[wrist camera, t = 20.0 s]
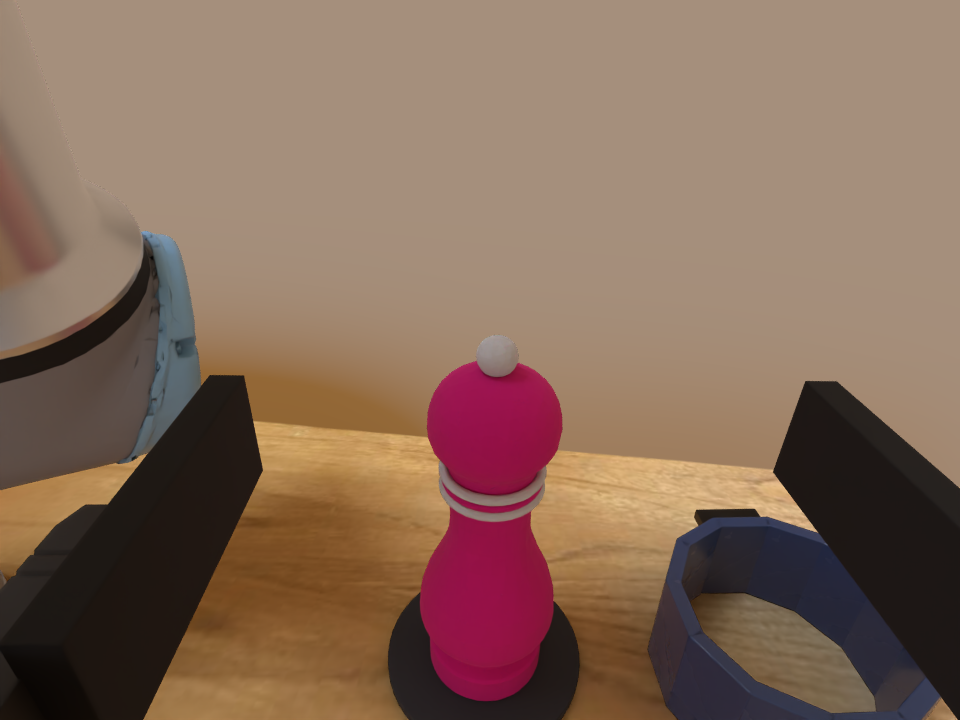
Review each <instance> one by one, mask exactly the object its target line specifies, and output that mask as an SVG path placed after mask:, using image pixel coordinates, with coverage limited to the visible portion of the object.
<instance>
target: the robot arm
mask: <svg viewBox="0 0 960 720" xmlns="http://www.w3.org/2000/svg"><path fill="white" fill-rule="evenodd" d="M194 325H195V324H194V315H193V309H192V303H191V297H190V292H189V286H188V281H187V276H186V272H185V268H184V264H183V260H182V257H181V253H180V250H179V248H178V246H177V244H176V242H175V241H174V240H173V239H172V238H170V237H169V236H166V235H162V234H153V233H151V232H148V231H144V232H141V231H140V229H139V226H138V224H137V222H136V221H135V219H134V217H133V215H132V214H131V212H130V211H129V209H128V208H127V206H126V205H124V204H123V203H122V202H121V201H120V200H119V199H118V198H117V197H116V196H114V195H113V194H111V193H110V192H108V191H107V190H105V189H104V188H101V187H100V186H98V185H96V184H94V183H92V182H90V181H87V180H85V179H82V178H81V176H80V173H79V170H78V168H77V165H76V162H75V160H74V157H73V154H72V151H71V149H70V146H69V143H68V140H67V138H66V135H65V133H64V130H63V127H62V124H61V121H60V119H59V116H58V113H57V110H56V108H55V105H54V102H53V100H52V97H51V94H50V91H49V88H48V86H47V83H46V80H45V78H44V75H43V72H42V69H41V67H40V64H39V61H38V59H37V56H36V53H35V50H34V47H33V45H32V42H31V39H30V37H29V34H28V31H27V29H26V26H25V23H24V20H23V17H22V15H21V12H20V9H19V6H18V4H17V1H16V0H0V490H3V489H7V488H11V487H15V486H19V485H23V484H27V483H32V482H36V481H40V480H44V479H49V478H53V477H57V476H62V475H66V474H70V473H74V472H79V471H83V470H87V469H92V468H96V467H100V466H105V465H109V464H113V463H117V464H122V463H128V462H131V461H133V460H135V459H137V458H138V456H140V455H143V454H147V453H148V454H147V455H146V457H145V458H144V459H143V461H142V462H141V463H140V464H139V466H138V467H137V468H136V469H135V471H134V472H133V473H132V475H131V476H130V477H129V478H128V480H127V481H126V482H125V483H124V485H123V486H122V487H121V488H120V490H119V491H118V492H117V494H116V495H115V496H114V497H113V499H112V500H111V501H110V502H109V504H108V505H84V506H83V507H81V508H80V509H79V510H77V511H76V512H74V513H73V514H71V515H70V516H69V517H67V518H66V519H64V520H63V521H62V522H60V523H59V524H57V525H56V526H55V527H54V528H53V529H52V530H51V532H50V533H49V534H48V535H47V536H46V537H45V539H44V540H43V541H42V542H41V543H40V544H39V545H38V547H37V548H36V549H35V550H34V555H30V556H29V557H28V558H27V559H26V561H25V562H24V563H23V564H22V565H21V566H20V567H19V569H18V570H17V571H16V572H17V573H16V576H14V577H11V578H10V579H9V580H8V581H6V579H5V577H4V575H3V573H2V572H1V570H0V720H143V719H144V717H145V715H146V713H147V711H148V709H149V707H150V705H151V703H152V700H153V698H154V696H155V694H156V692H157V690H158V688H159V686H160V684H161V682H162V680H163V677H164V675H165V673H166V671H167V669H168V667H169V665H170V663H171V661H172V659H173V657H174V655H175V652H176V650H177V648H178V646H179V644H180V642H181V640H182V638H183V636H184V634H185V632H186V630H187V627H188V625H189V623H190V621H191V619H192V617H193V615H194V613H195V611H196V609H197V607H198V605H199V602H200V600H201V598H202V596H203V594H204V592H205V590H206V588H207V586H208V584H209V582H210V580H211V577H212V575H213V573H214V571H215V569H216V567H217V565H218V563H219V561H220V559H221V557H222V554H223V552H224V550H225V548H226V546H227V544H228V542H229V540H230V538H231V536H232V534H233V532H234V529H235V527H236V525H237V523H238V521H239V519H240V517H241V515H242V513H243V511H244V509H245V507H246V504H247V502H248V500H249V498H250V496H251V494H252V492H253V490H254V488H255V486H256V484H257V482H258V479H259V477H260V475H261V473H262V471H263V468H262V463H261V458H260V453H259V448H258V443H257V438H256V433H255V428H254V423H253V419H252V413H251V408H250V404H249V399H248V393H247V388H246V384H245V379H244V376H236V375H235V376H234V375H232V376H231V375H210V376H209V377H208V378H207V379H206V381H205V382H204V383H203V385H202V386H201V376H200V365H199V357H198V352H197V348H196V346H195V341H196V336H195V326H194ZM773 473H774V474H775V475H776V477H777V478H778V479H779V481H780V482H781V483H782V485H783V486H784V487H785V489H786V490H787V491H788V493H789V494H790V495H791V497H792V498H793V500H794V501H795V502H796V504H797V505H798V506H799V508H800V509H801V510H802V512H803V513H804V514H805V516H806V517H807V518H808V520H809V521H810V522H811V524H812V525H813V526H814V528H815V529H816V530H817V532H818V533H819V534H820V536H821V537H822V538H823V540H824V541H825V542H826V544H827V545H828V546H829V548H830V549H831V550H832V552H833V553H834V554H835V556H836V557H837V558H838V560H839V561H840V562H841V564H842V565H843V566H844V568H845V569H846V570H847V572H848V573H849V574H850V576H851V577H852V578H853V580H854V581H855V582H856V584H857V585H858V586H859V588H860V589H861V590H862V592H863V593H864V595H865V596H866V597H867V599H868V600H869V601H870V603H871V604H872V605H873V607H874V608H875V609H876V611H877V612H878V613H879V615H880V616H881V617H882V619H883V620H884V621H885V623H886V624H887V625H888V627H889V628H890V629H891V631H892V632H893V633H894V635H895V636H896V637H897V639H898V640H899V641H900V643H901V644H902V645H903V647H904V648H905V649H906V651H907V652H908V653H909V655H910V656H911V657H912V659H913V660H914V661H915V663H916V664H917V665H918V667H919V668H920V669H921V671H922V672H923V673H924V675H925V676H926V677H927V679H928V680H929V681H930V683H931V684H932V685H933V687H934V688H935V690H936V691H937V692H938V694H939V695H940V696H941V698H942V699H943V700H944V702H945V703H946V704H947V706H948V707H949V708H950V710H951V711H952V712H953V714H954V715H955V716H956V718H957V719H958V720H960V488H959V487H958V486H956V485H955V484H954V483H953V482H952V481H951V480H950V479H948V478H947V477H946V476H945V475H944V474H943V473H942V472H940V471H939V470H938V469H937V468H936V467H934V466H933V465H932V464H931V463H930V462H929V461H928V460H927V459H925V458H924V457H923V456H922V455H921V454H919V453H918V452H917V451H916V450H915V449H914V448H913V447H912V446H910V445H909V444H908V443H907V442H905V440H904V439H902V438H901V437H900V436H899V435H898V434H897V433H895V432H894V431H893V430H892V429H891V428H890V427H888V426H887V425H886V424H885V423H884V422H883V421H882V420H881V419H879V418H878V417H877V416H876V415H875V414H873V413H872V412H871V411H870V410H869V409H868V408H867V407H866V406H864V405H863V404H862V403H861V402H860V401H859V400H857V399H856V398H855V397H854V396H853V395H852V394H851V393H849V392H848V391H847V390H846V389H845V388H844V387H843V386H841V385H840V384H839V383H838V382H836V381H835V382H834V381H805V384H804V387H803V389H802V392H801V395H800V398H799V400H798V403H797V406H796V409H795V412H794V414H793V417H792V420H791V423H790V426H789V428H788V432H787V434H786V437H785V440H784V443H783V445H782V448H781V451H780V454H779V457H778V459H777V462H776V465H775V468H774V471H773Z"/></svg>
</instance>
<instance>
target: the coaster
mask: <svg viewBox="0 0 960 720" xmlns="http://www.w3.org/2000/svg"><path fill="white" fill-rule="evenodd" d="M420 595H421V592H420V593H419V594H418V595H417V596H416V597H415V598H414V599H413V600H412V601H411V602H410V603H409V604H408V605H407V606H406V608H405V609H404V610H403V612H402V614H401V615H400V617H399V618H398V620H397V623H396V625H395V627H394V629H393V632H392V636H391V639H390V645H389V651H388V666H389V675H390V682H391V685H392V689H393V692H394V695H395V697H396V699H397V702H398V704H399V706H400V707H401V709H402V711H403V712H404V714H405V715H406V717H407V718H408V719H409V720H561V719H562V718H563V716H564V714H565V713H566V711H567V709H568V708H569V706H570V704H571V701H572V699H573V697H574V694H575V690H576V686H577V682H578V675H579V651H578V645H577V641H576V638H575V634H574V631H573V629H572V627H571V625H570V623H569V621H568V619H567V618H566V616H565V614H564V613H563V611H562V610H561V609H560V608H559V606H558V605H557V604H556V603H555V602H554V601H553V617H552V621H551V624H550V627H549V630H548V631H547V633H546V635H545V637H544V639H543V640H542V642H541V643H540V650H539V658H538V663H537V667H536V669H535V671H534V674H533V675H532V677H531V678H530V680H529V682H528V683H527V684H526V685H524V686H523V687H522V688H521V689H520V690H519V691H518V692H516V693H515V694H513V695H511V696H508V697H506V698H503V699H500V700H496V701H476V700H473V699H469V698H466V697H463V696H461V695H459V694H457V693H455V692H454V691H452V690H451V689H450V688H449V687H447V686H446V685H445V684H444V683H443V681H442V680H441V679H440V678H439V676H438V675H437V673H436V671H435V669H434V666H433V663H432V659H431V652H430V636H429V634H428V632H427V630H426V629H425V626H424V623H423V620H422V616H421V611H420Z"/></svg>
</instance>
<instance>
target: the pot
mask: <svg viewBox="0 0 960 720" xmlns="http://www.w3.org/2000/svg"><path fill="white" fill-rule="evenodd" d="M694 518H695V520H696V522H697V524H698V527H696V528H694V529H693V530H691V531H689V532H688V533H686V534H684V535H682V536H681V537H679V538H677V540H676V543H675V547H674V550H673V554H672V558H671V561H670V565H669V569H668V572H667V576H666V580H665V583H664V587H663V591H662V595H661V599H660V603H659V607H658V610H657V614H656V618H655V622H654V626H653V630H652V634H651V637H650V641H649V645H648V652H649V655H650V658H651V661H652V664H653V667H654V670H655V673H656V676H657V679H658V682H659V685H660V688H661V691H662V694H663V697H664V700H665V703H666V706H667V707H668V709H669V710H670V711H671V712H672V713H673V714H674V715H675V716H676V717H677V719H678V720H926V719H927V718H928V716H929V715H930V713H931V712H932V711H933V709H934V708H935V706H936V705H937V703H938V702H939V700H940V699H941V696H940V695H939V694H938V692H937V691H936V690H935V688H934V687H933V685H932V684H931V683H930V681H929V680H928V679H927V677H926V676H925V675H924V673H923V672H922V671H921V669H920V668H919V667H918V665H917V664H916V663H915V661H914V660H913V659H912V657H911V656H910V655H909V653H908V652H907V651H906V649H905V648H904V647H903V645H902V644H901V643H900V641H899V640H898V639H897V637H896V636H895V635H894V633H893V632H892V631H891V629H890V628H889V627H888V625H887V624H886V623H885V621H884V620H883V619H882V617H881V616H880V615H879V613H878V612H877V611H876V609H875V608H874V607H873V605H872V604H871V603H870V601H869V600H868V599H867V597H866V596H865V595H864V593H863V592H862V590H861V589H860V588H859V586H858V585H857V584H856V582H855V581H854V580H853V578H852V577H851V576H850V574H849V573H848V572H847V570H846V569H845V568H844V566H843V565H842V564H841V562H840V561H839V560H838V558H837V557H836V556H835V554H834V553H833V552H832V550H831V549H830V548H829V546H828V545H827V544H826V542H825V541H824V540H823V538H822V537H821V536H820V534H819V533H816V532H813V531H810V530H807V529H804V528H801V527H798V526H794V525H791V524H788V523H785V522H782V521H779V520H775V519H772V518H769V517H760V516H759V514H758V513H757V511H756V510H755V509H713V510H696V512H695V516H694ZM737 592H745V593H748V594H750V595H753V596H756V597H758V598H761V599H764V600H766V601H769V602H772V603H774V604H777V605H780V606H782V607H785V608H788V609H791V610H793V611H795V612H797V613H798V614H799V615H800V616H802V617H803V618H804V619H806V620H807V621H808V622H809V623H811V624H812V625H813V626H815V627H816V628H817V629H819V630H820V631H821V632H822V633H824V634H825V635H826V636H828V637H829V638H830V639H831V640H833V641H834V642H835V643H837V644H838V645H839V646H840V647H842V649H843V650H844V652H845V653H846V655H847V656H848V658H849V659H850V661H851V662H852V664H853V665H854V667H855V668H856V670H857V671H858V673H859V674H860V676H861V677H862V679H863V680H864V682H865V683H866V685H867V686H868V688H869V689H870V691H871V692H872V694H873V695H874V697H875V705H876V712H852V713H830V712H827V711H825V710H823V709H820V708H818V707H816V706H813V705H811V704H809V703H806V702H804V701H802V700H799V699H797V698H794V697H792V696H790V695H787V694H785V693H783V692H780V691H778V690H776V689H773V688H771V687H769V686H766V685H764V684H762V683H759V682H757V681H755V680H754V679H753V678H752V677H751V676H750V675H749V674H748V673H747V672H746V671H745V670H743V669H742V668H741V667H740V666H739V665H738V664H737V663H736V662H735V661H734V660H733V659H731V658H730V657H729V656H728V655H727V654H726V653H725V652H724V651H723V650H722V649H721V648H720V647H718V646H717V645H716V644H715V643H714V642H713V641H712V640H711V639H710V638H709V637H708V636H706V635H705V634H704V633H703V631H702V629H701V626H700V624H699V622H698V620H697V617H696V615H695V613H694V611H693V608H692V606H691V604H690V601H691V600H693V599H694V598H696V597H697V596H699V595H700V594H701V593H737Z"/></svg>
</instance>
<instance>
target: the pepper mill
mask: <svg viewBox="0 0 960 720" xmlns="http://www.w3.org/2000/svg"><path fill="white" fill-rule="evenodd" d="M518 357H519V355H518V349H517V347H516V345H515V343H513V342H512V340H510V339H509V338H507V337H506V336H502V335H493V336H489V337H488V338H486V339H484V340H483V342H482V343H481V344H480V345H479V347H478V349H477V354H476V358H477V361H475V362H472V363H469V364H466V365H463V366H461V367H459V368H457V369H456V370H454V371H452V372H451V373H450V374H449V375H448V376H447V377H446V378H444V379H443V380H442V381H441V383H440V384H439V386H438V388H437V389H436V390H435V392H434V394H433V397H432V399H431V402H430V405H429V409H428V418H427V431H428V439H429V441H430V444H431V446H432V448H433V451H434V453H435V455H436V456H437V457H438V458H439V459H440V462H439V475H440V478H439V488H440V493H441V495H442V497H443V498H444V500H445V501H446V503H447V504H448V505H449V506H450V523H449V527H448V530H447V532H446V534H445V536H444V537H443V539H442V540H441V542H440V543H439V545H438V547H437V548H436V550H435V551H434V553H433V555H432V556H431V558H430V560H429V563H428V565H427V568H426V570H425V573H424V576H423V580H422V585H421V595H420V611H421V616H422V620H423V623H424V626H425V629H426V630H427V632H428V634H429V636H430V652H431V659H432V663H433V666H434V669H435V671H436V673H437V675H438V676H439V678H440V679H441V680H442V681H443V683H444V684H445V685H446V686H447V687H449V688H450V689H451V690H452V691H454V692H455V693H457V694H459V695H461V696H463V697H466V698H469V699H473V700H476V701H496V700H500V699H503V698H506V697H508V696H511V695H513V694H515V693H516V692H518V691H519V690H520V689H521V688H522V687H523V686H524V685H526V684H527V683H528V682H529V680H530V678H531V677H532V675H533V674H534V671H535V669H536V667H537V663H538V658H539V650H540V643H541V642H542V640H543V639H544V637H545V635H546V633H547V631H548V630H549V627H550V624H551V621H552V617H553V597H554V595H553V584H552V580H551V577H550V573H549V569H548V566H547V563H546V561H545V558H544V556H543V554H542V552H541V551H540V549H539V547H538V545H537V543H536V540H535V538H534V535H533V533H532V530H531V526H530V523H531V511H532V510H533V509H534V508H535V507H536V506H537V505H538V504H539V502H540V501H541V500H542V498H543V495H544V491H545V478H546V472H547V470H546V465H547V464H548V463H549V461H550V460H551V459H552V458H553V456H554V455H555V453H556V451H557V450H558V445H559V441H560V437H561V433H562V413H561V408H560V403H559V401H558V399H557V396H556V394H555V392H554V390H553V388H552V387H551V386H550V384H549V383H548V382H547V380H546V379H545V378H543V377H542V376H541V375H540V374H539V373H537V372H536V371H535V370H533V369H531V368H529V367H528V366H525V365H523V364H520V363H518Z"/></svg>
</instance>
